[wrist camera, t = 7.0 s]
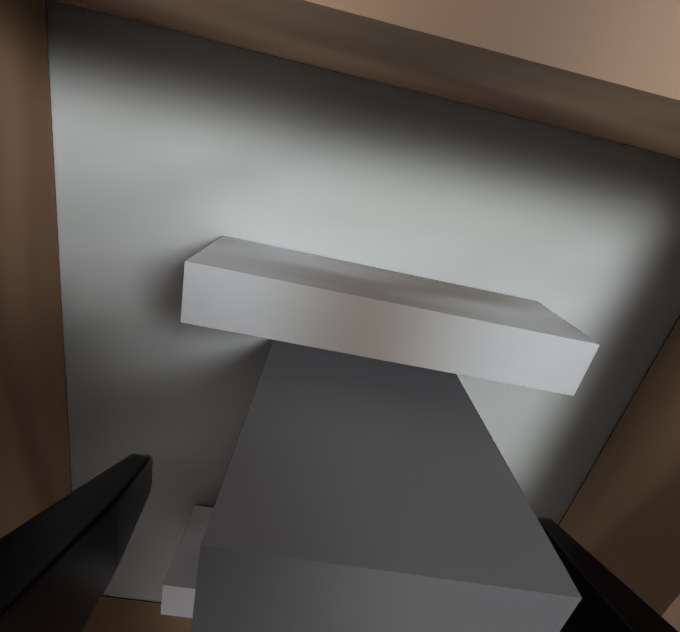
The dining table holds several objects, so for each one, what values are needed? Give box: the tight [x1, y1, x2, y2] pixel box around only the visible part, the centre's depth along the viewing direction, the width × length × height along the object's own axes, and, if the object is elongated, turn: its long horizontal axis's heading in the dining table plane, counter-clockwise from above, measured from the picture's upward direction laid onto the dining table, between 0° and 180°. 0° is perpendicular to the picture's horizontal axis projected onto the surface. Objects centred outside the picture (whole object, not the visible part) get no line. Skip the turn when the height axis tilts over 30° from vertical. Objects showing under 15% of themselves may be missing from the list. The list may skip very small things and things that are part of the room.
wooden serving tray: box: [0, 0, 680, 632], centre depth 10 cm, size 18×20×4 cm
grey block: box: [191, 340, 582, 632], centre depth 8 cm, size 5×5×7 cm
